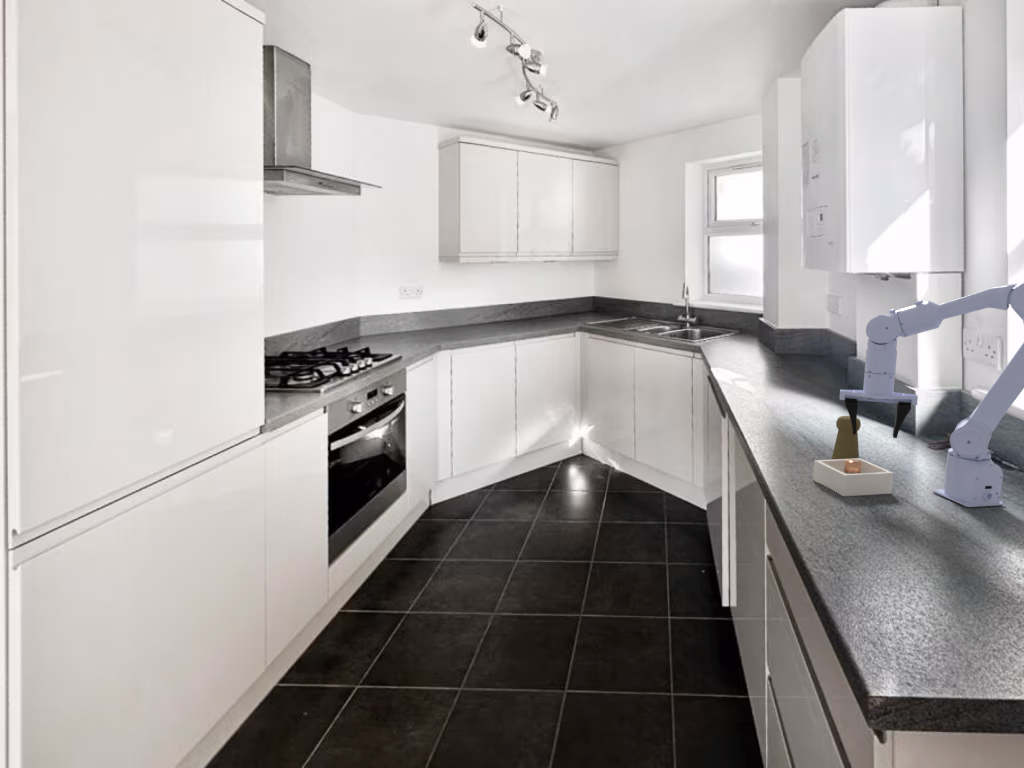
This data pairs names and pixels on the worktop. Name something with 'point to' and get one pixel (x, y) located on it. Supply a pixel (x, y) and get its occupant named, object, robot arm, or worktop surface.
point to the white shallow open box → (853, 478)
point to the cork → (846, 439)
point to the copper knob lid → (852, 466)
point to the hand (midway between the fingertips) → (874, 435)
